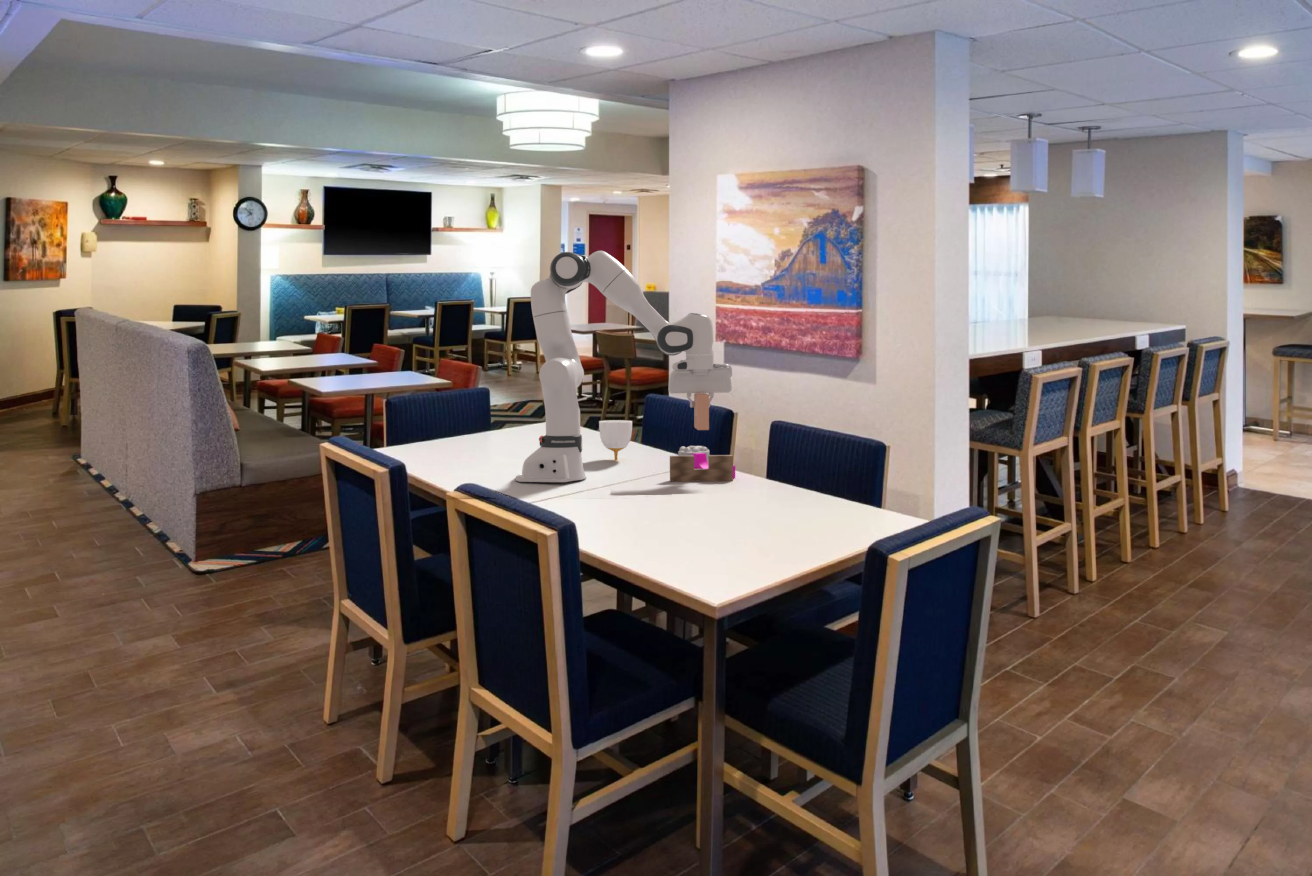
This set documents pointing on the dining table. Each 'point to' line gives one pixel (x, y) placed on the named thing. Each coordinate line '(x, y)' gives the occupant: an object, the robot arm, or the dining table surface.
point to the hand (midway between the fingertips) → (700, 407)
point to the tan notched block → (701, 411)
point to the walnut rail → (717, 469)
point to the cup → (615, 434)
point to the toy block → (704, 462)
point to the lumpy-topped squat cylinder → (692, 451)
